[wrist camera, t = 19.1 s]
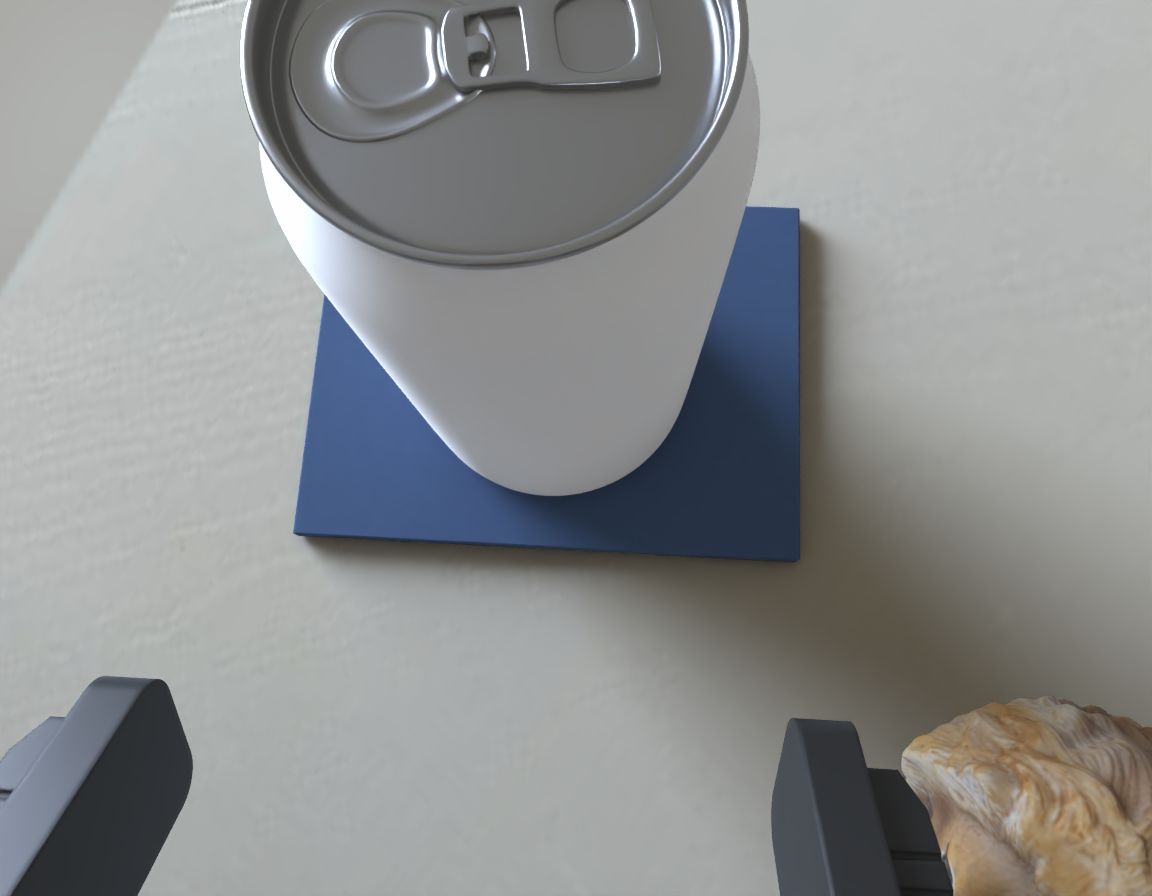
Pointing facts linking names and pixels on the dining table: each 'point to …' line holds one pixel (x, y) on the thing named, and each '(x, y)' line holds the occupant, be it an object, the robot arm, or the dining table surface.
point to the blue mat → (618, 510)
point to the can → (514, 206)
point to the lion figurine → (1038, 799)
